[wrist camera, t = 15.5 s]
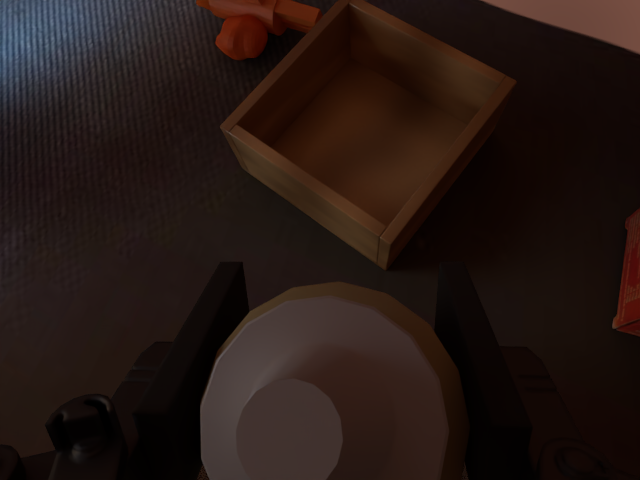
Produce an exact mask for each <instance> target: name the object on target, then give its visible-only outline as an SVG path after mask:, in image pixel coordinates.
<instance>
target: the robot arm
mask: <svg viewBox="0 0 640 480" xmlns="http://www.w3.org/2000/svg"><path fill="white" fill-rule="evenodd" d="M248 313H249V306H248V298H247V291H246V284H245V277H244V270H243V263H242V262H220V264H219V265H218V267H217V269H216V270H215V272H214V274H213V275H212V277H211V279H210V281H209V282H208V284H207V286H206V287H205V289H204V291H203V293H202V294H201V296H200V298H199V299H198V301H197V303H196V304H195V306H194V308H193V310H192V311H191V313H190V315H189V316H188V318H187V320H186V321H185V323H184V325H183V327H182V328H181V330H180V332H179V333H178V335H177V337H176V338H175V340H174V342H155V343H154V344H152V345H151V346H150V347H149V348H147V349H146V350H145V351H144V352H142V353H141V354H140V356H139V357H138V359H137V360H136V362H135V363H134V365H133V366H132V370H130V371H129V372H128V374H127V375H126V377H125V378H124V379H125V380H124V381H122V383H121V384H120V386H119V387H118V389H117V390H116V392H115V394H114V395H113V397H112V398H111V400H110V399H109V398H108V396H104V395H101V394H88V395H84V396H80V397H77V398H74V399H72V400H70V401H69V402H67V403H65V404H63V405H62V406H60V407H59V408H58V409H57V410H56V411H55V412H54V413H52V414H51V416H50V417H49V419H48V420H47V422H46V424H45V426H46V429H47V431H48V433H49V436H50V438H51V440H52V442H53V445H54V447H55V449H56V450H54V451H50V452H46V453H42V454H37V455H33V456H29V457H25V458H20V456H19V454H18V452H17V451H16V450H15V449H14V448H13V447H12V446H8V445H0V480H197V477H198V475H199V472H200V469H201V466H202V463H203V462H202V460H201V426H200V400H201V397H202V394H203V391H204V388H205V385H206V382H207V380H208V377H209V374H210V371H211V368H212V365H213V362H214V359H215V357H216V354H217V351H218V349H219V348H220V347H221V346H222V345H223V343H224V342H225V341H226V340H227V339H228V337H229V336H230V335H231V334H232V333H233V331H234V330H235V329H236V328H237V326H238V325H239V324H240V323H241V322H242V320H243V319H244V318H245V317H246V316H247V314H248ZM434 330H435V334H436V336H437V337H438V339H439V340H440V342H441V343H442V345H443V347H444V348H445V350H446V351H447V353H448V354H449V356H450V357H451V359H452V361H453V362H454V364H455V365H456V367H457V368H458V370H459V374H460V379H461V384H462V389H463V394H464V398H465V403H466V408H467V413H468V418H469V422H470V432H469V438H468V444H467V449H466V455H465V465H466V469H467V473H468V478H469V480H640V477H637V476H634V475H631V474H628V473H626V472H623V471H620V470H618V469H616V468H614V467H613V465H612V464H611V463H610V462H609V460H608V459H607V458H606V457H605V456H604V455H603V453H601V452H600V451H598V450H597V449H595V448H594V447H593V446H591V445H590V444H587V443H585V441H584V440H583V438H582V436H581V434H580V432H579V430H578V428H577V427H576V425H575V423H574V421H573V419H572V417H571V415H570V413H569V411H568V409H567V407H566V406H565V404H564V402H563V400H562V398H561V396H560V394H559V392H557V390H556V387H555V385H554V383H553V381H552V379H550V375H549V373H548V371H547V369H546V368H545V366H544V364H543V362H542V360H541V359H540V358H539V357H537V356H536V355H535V354H534V353H533V352H532V351H531V350H529V349H528V348H527V347H504V346H499V345H498V342H497V340H496V337H495V335H494V333H493V330H492V328H491V325H490V323H489V321H488V318H487V316H486V314H485V311H484V309H483V306H482V304H481V302H480V299H479V297H478V294H477V292H476V290H475V287H474V285H473V282H472V280H471V278H470V275H469V273H468V270H467V268H466V266H465V263H464V262H440V266H439V278H438V291H437V304H436V316H435V329H434Z"/></svg>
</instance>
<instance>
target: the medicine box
mask: <svg viewBox="0 0 640 480" xmlns="http://www.w3.org/2000/svg"><path fill="white" fill-rule="evenodd" d="M625 229H627V230H628V232H627V240H626V248H625V255H624V263H623V271H622V279H621V286H620V294H619V301H618V310H617V315H616V317H615V318H613V325H612V328H613V329H615V328H616V329H617V331H621V332H625V333H629V334H632V335H636V336H639V337H640V208H639V209H638V210H637V211H635V212H634V213H633V214H632V215H631V216H630V217H627V219H626V222H625Z"/></svg>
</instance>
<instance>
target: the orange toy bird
mask: <svg viewBox="0 0 640 480" xmlns="http://www.w3.org/2000/svg"><path fill="white" fill-rule="evenodd" d="M196 4H197V5H199V6H202V7H204V8H206V9H208V10H211V11H212V13H213V14H214V15H215V16H217V17H220V18H223V19H226V20H225V22H224V23H223V25H222V30H221V32H220V34H219V35H218V36H217V38H216V42H215V44H216V46H217V47H218V48H219V49H220V50H221V51H222V52H223V53H225V54H226V55H227V56H229V57H230V58H232V59H234V60H241V61H242V60H244V59H247V58H256V57H258V56H259V55H260V54H261V53H262V52H263V51H264V49H265V46H266V44H267V40H268V33H271V34H274V35H278V36H280V35H282V34H283V33H284V32H285V30H286V29H287V27H288V28H291V29H295V30H298V31H301V32H304V33H308V32H309V31H310V30H311V29H312V28H313V27H314V26H315V24H316V23H317V22H318V21H319V20H320V19H321V18H322V16H323V15H322V13H321V11H320V9H318V8H315V7H311V6H308V5H304V4H301V3H297V2H294V1H292V0H196Z"/></svg>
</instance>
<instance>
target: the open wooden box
mask: <svg viewBox="0 0 640 480" xmlns="http://www.w3.org/2000/svg"><path fill="white" fill-rule="evenodd" d="M516 83H517V81H516V80H514V79H512V78H510V77H508V76H506V75H505V74H503V73H501V72H499V71H497V70H495V69H493V68H491V67H489V66H487V65H486V64H484V63H482V62H480V61H478V60H476V59H474V58H472V57H470V56H468V55H466V54H465V53H463V52H461V51H459V50H457V49H455V48H453V47H451V46H449V45H447V44H446V43H444V42H442V41H440V40H438V39H436V38H434V37H432V36H430V35H428V34H426V33H425V32H423V31H421V30H419V29H417V28H415V27H413V26H411V25H409V24H407V23H405V22H404V21H402V20H400V19H398V18H396V17H394V16H392V15H390V14H388V13H386V12H384V11H383V10H381V9H379V8H377V7H375V6H373V5H371V4H369V3H367V2H365V1H364V0H338V1H337V2H336V3H335V4H334V5H333V6H332V7H331V9H330V10H329V11H328V12H327V13H326V14H325V15H324V16H323V17H322V18H321V19H320V20H319V21H318V22H317V23H316V24H315V26H314V27H313V28H312V29H311V30H310V31H309V32H308V33H307V34H306V35H305V36H304V37H303V38H302V39H301V40H300V41H299V43H298V44H297V45H296V46H295V47H294V48H293V49H292V50H291V51H290V52H289V53H288V54H287V55H286V56H285V57H284V59H283V60H282V61H281V62H280V63H279V64H278V65H277V66H276V67H275V68H274V69H273V70H272V71H271V72H270V73H269V74H268V76H267V77H266V78H265V79H264V80H263V81H262V82H261V83H260V84H259V85H258V86H257V87H256V88H255V89H254V90H253V91H252V93H251V94H250V95H249V96H248V97H247V98H246V99H245V100H244V101H243V102H242V103H241V104H240V105H239V106H238V107H237V108H236V110H235V111H234V112H233V113H232V114H231V115H230V116H229V117H228V118H227V119H226V120H225V121H224V122H223V123H222V124H221V126H220V128H221V129H222V131H223V133H224V135H225V137H226V139H227V141H228V143H229V144H230V146H231V148H232V150H233V152H234V154H235V156H236V157H237V159H238V161H239V163H240V165H241V167H242V169H244V170H245V171H247V172H248V173H249V174H251V175H252V176H254V177H255V178H256V179H258V180H259V181H261V182H262V183H263V184H265V185H266V186H268V187H269V188H270V189H272V190H273V191H275V192H276V193H277V194H279V195H280V196H282V197H283V198H284V199H286V200H287V201H289V202H290V203H291V204H293V205H294V206H296V207H297V208H298V209H300V210H301V211H303V212H304V213H305V214H307V215H308V216H310V217H311V218H312V219H314V220H315V221H317V222H318V223H319V224H321V225H322V226H324V227H325V228H326V229H328V230H329V231H331V232H332V233H333V234H335V235H336V236H338V237H339V238H340V239H342V240H343V241H345V242H346V243H347V244H349V245H350V246H352V247H353V248H354V249H356V250H357V251H359V252H360V253H361V254H363V255H364V256H366V257H367V258H368V259H370V260H371V261H373V262H374V263H375V264H377V265H378V266H380V267H381V268H382V269H384V270H385V271H387V269H388V268H389V267H390V265H391V264H392V263H393V261H394V260H395V259H396V258H397V256H398V255H399V254H400V252H401V251H402V250H403V248H404V247H405V246H406V244H407V243H408V242H409V241H410V239H411V238H412V237H413V235H414V234H415V233H416V231H417V230H418V229H419V227H420V226H421V225H422V224H423V222H424V221H425V220H426V218H427V217H428V216H429V214H430V213H431V212H432V210H433V209H434V208H435V207H436V205H437V204H438V203H439V201H440V200H441V199H442V197H443V196H444V195H445V194H446V192H447V191H448V190H449V188H450V187H451V186H452V184H453V183H454V182H455V180H456V179H457V178H458V177H459V175H460V174H461V173H462V171H463V170H464V169H465V167H466V166H467V165H468V163H469V162H470V161H471V160H472V158H473V157H474V156H475V154H476V153H477V152H478V150H479V149H480V148H481V147H482V145H483V144H484V143H485V141H486V140H487V139H488V137H489V136H490V135H491V133H492V132H493V130H494V128H495V126H496V124H497V122H498V120H499V118H500V116H501V114H502V112H503V110H504V108H505V106H506V104H507V102H508V100H509V97H510V95H511V93H512V91H513V89H514V87H515V85H516Z"/></svg>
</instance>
